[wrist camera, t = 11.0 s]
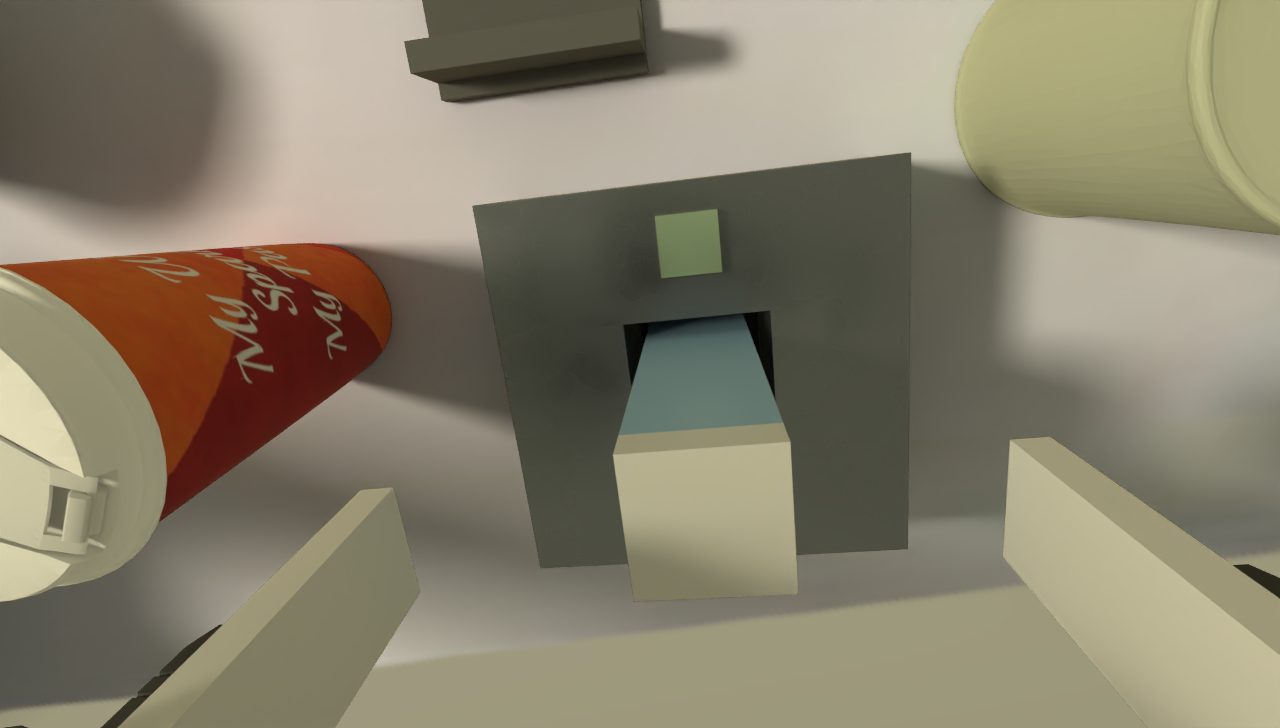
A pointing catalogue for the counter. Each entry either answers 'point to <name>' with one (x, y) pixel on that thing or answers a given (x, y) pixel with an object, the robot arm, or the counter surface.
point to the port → (700, 287)
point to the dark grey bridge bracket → (526, 44)
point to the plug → (705, 468)
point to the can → (1127, 109)
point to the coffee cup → (158, 387)
